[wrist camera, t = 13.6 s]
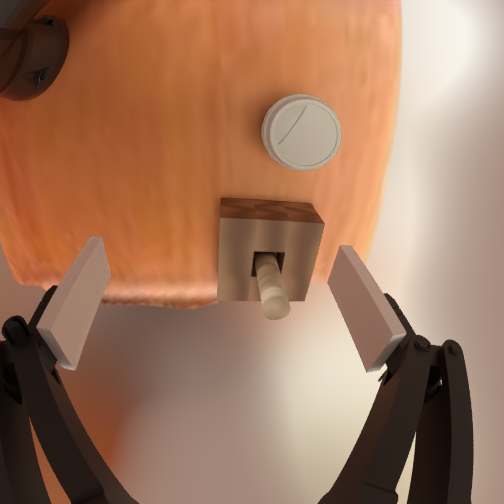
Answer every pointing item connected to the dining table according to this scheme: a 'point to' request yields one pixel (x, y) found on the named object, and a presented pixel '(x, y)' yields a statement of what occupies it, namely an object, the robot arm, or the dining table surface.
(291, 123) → the coffee cup
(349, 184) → the dining table surface
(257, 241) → the bore block
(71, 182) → the dining table surface
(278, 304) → the dowel
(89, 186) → the dining table surface
